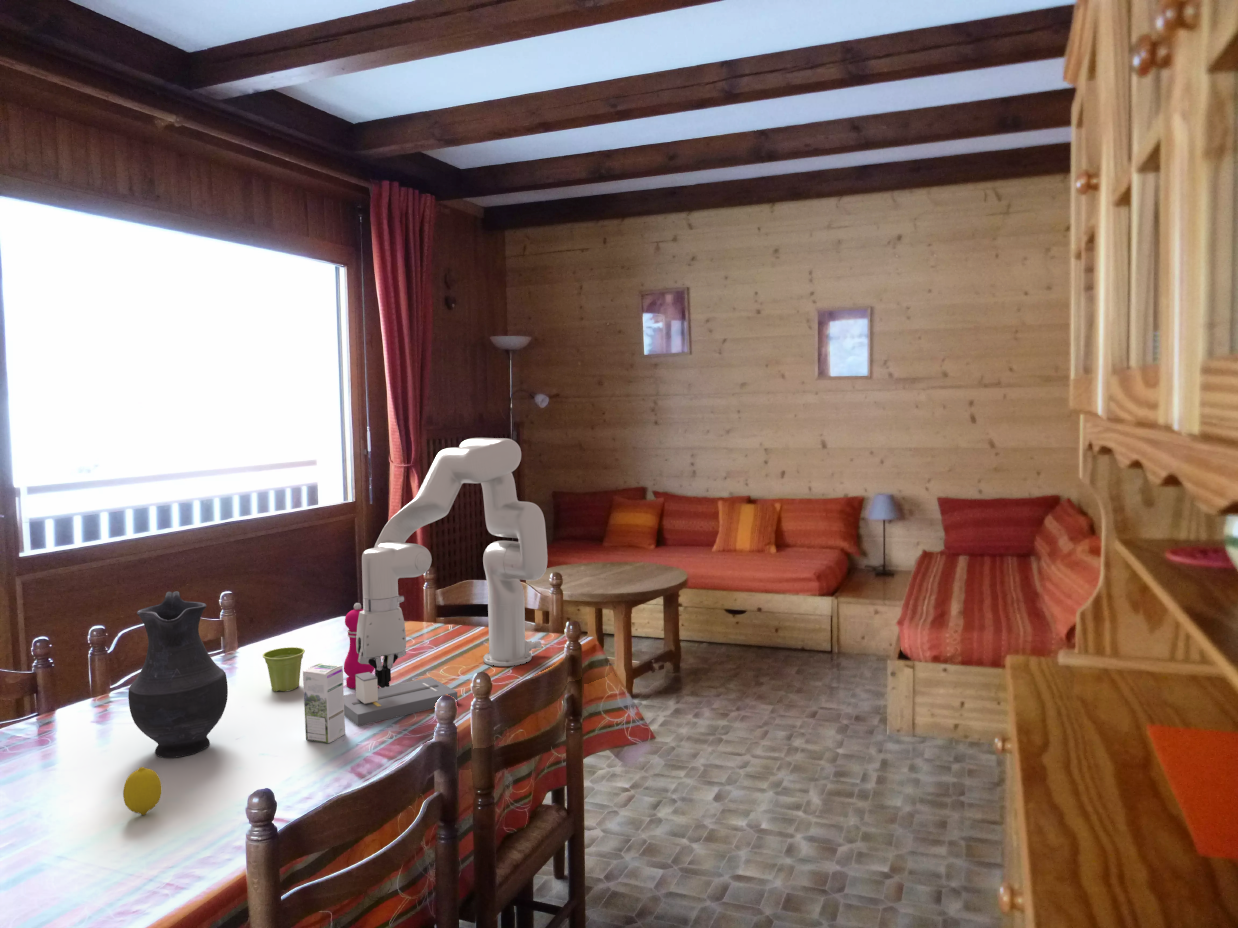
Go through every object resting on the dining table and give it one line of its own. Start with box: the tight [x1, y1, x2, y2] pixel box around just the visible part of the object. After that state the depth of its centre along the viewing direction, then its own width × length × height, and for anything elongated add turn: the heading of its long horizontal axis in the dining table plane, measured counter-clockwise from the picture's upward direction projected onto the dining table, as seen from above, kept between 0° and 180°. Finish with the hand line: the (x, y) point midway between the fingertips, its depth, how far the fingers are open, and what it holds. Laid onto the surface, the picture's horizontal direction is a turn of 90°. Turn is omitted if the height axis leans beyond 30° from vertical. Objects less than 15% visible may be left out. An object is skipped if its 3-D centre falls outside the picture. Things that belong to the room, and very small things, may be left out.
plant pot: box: [262, 646, 306, 692], centre depth 208 cm, size 9×9×9 cm
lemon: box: [122, 766, 163, 816], centre depth 143 cm, size 6×6×8 cm
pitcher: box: [127, 591, 229, 759], centre depth 172 cm, size 17×21×30 cm
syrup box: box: [302, 663, 346, 744], centre depth 176 cm, size 6×6×14 cm
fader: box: [355, 672, 379, 704], centre depth 190 cm, size 3×5×5 cm, turn 37°
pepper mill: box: [343, 602, 375, 689], centre depth 209 cm, size 7×7×20 cm
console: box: [344, 676, 459, 727], centre depth 195 cm, size 23×14×3 cm, turn 127°
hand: (383, 685), depth 192 cm, fingers closed
